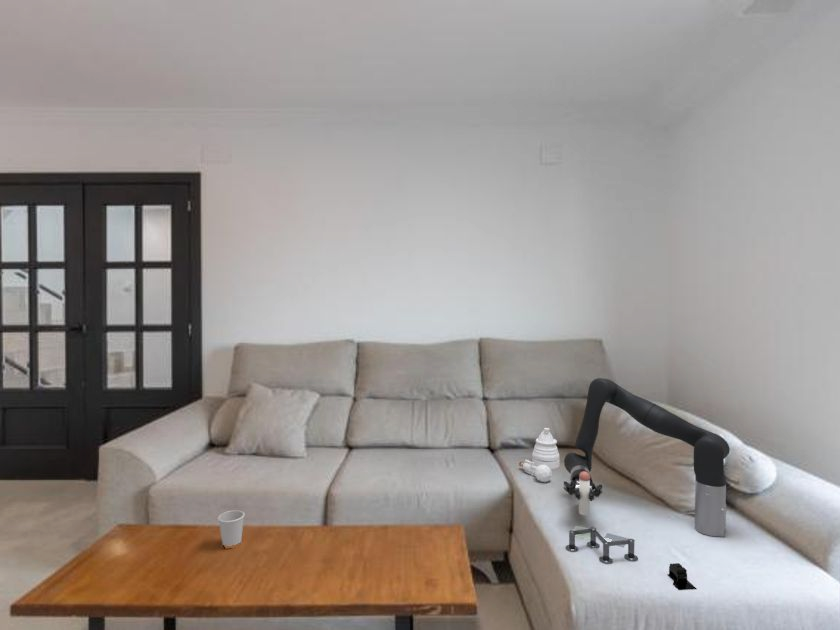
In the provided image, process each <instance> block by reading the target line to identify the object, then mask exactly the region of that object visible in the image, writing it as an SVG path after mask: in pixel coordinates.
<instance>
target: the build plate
mask: <svg viewBox="0 0 840 630" xmlns="http://www.w3.org/2000/svg"><path fill="white" fill-rule="evenodd" d="M687 572H688V570H687V569H686V568H685V567H684V566H683V565H682V564H681V563H669V565H668V573H667V574H666V576H668V577H669V578H670V579H671V580H672V581H673V582H672V586H673V587H675V588H676V589H677V590H678V591H690V590H698V588H697V587H695V585H693V584H692V582H690V581H689V580H688V573H687Z"/></svg>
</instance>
